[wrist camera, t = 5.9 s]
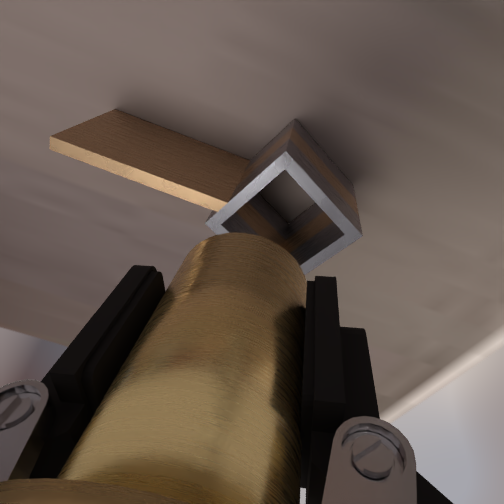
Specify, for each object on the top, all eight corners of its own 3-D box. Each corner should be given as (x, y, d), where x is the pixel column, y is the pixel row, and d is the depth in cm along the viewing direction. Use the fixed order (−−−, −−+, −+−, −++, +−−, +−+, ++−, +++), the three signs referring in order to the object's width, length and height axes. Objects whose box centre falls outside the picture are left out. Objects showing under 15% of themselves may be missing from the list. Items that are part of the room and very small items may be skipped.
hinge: (194, 2, 24) (144, -5, 17) (381, 217, 29) (398, 276, 23) (71, 167, 31) (2, 207, 25) (238, 314, 37) (219, 380, 30)
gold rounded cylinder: (244, 153, 10) (12, 541, 2) (383, 305, 11) (506, 812, 4) (112, 275, 12) (-192, 637, 5) (240, 384, 14) (155, 774, 7)
